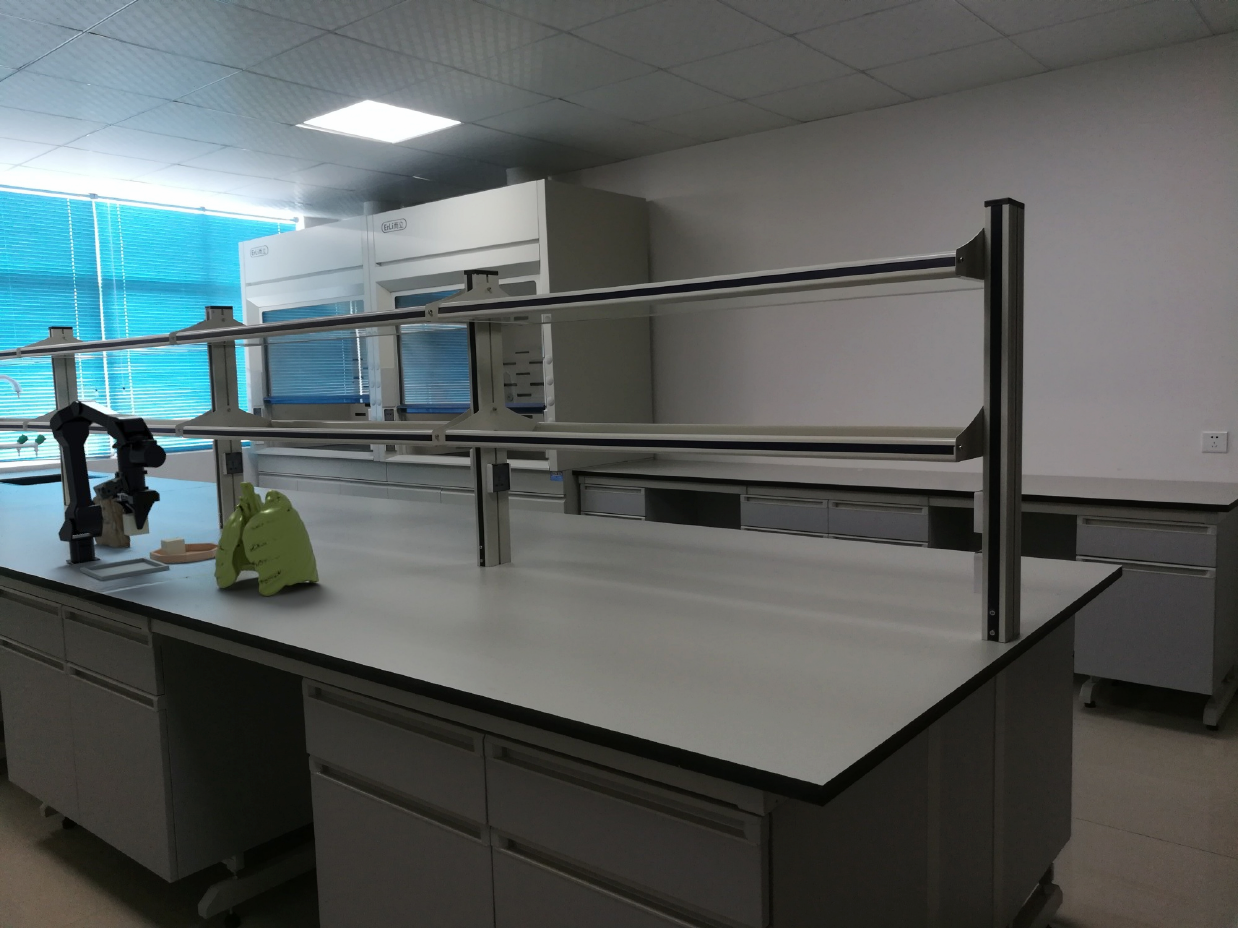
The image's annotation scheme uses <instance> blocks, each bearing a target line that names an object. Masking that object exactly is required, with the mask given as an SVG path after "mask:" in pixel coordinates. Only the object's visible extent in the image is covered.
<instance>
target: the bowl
mask: <svg viewBox="0 0 1238 928" xmlns="http://www.w3.org/2000/svg"><path fill="white" fill-rule="evenodd" d="M217 548H218V543H216V542H195V543H193V542H192V543H191V542H190V543H188V542H187V543H185V552H186V554H182V555H162V550H161V547H160V548H157V549H155V550H152V551H150V552H149V559H152V560H155V561H158V562H161V563H164V564H181V563H182V564H183V563H191V562H200V561H206V560H209V559H214V558H215V555H216V552H217Z"/></svg>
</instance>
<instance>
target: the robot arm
mask: <svg viewBox="0 0 1238 928" xmlns="http://www.w3.org/2000/svg"><path fill="white" fill-rule="evenodd" d="M93 424H96V425H98V426H100V427H102V428H105V429H106V430H107V431H106V433H107V435H109V436H110V437H111V438H112V439H113V440H115V442H114V443H113V444H112V446H111V449H114V450H116V459H117V470H116V471H115V472H114V477H112V478H111V479H109V480H106V481H104V482H101V483H99V484H97V485H95V486H93V487H92V489H93V491H94V493H95V495H97V497H98V499H102V500H105V499H108V498H109V499H115V498H117V500H116V501H114V502H115V503H117V504H118V505H120V506H121V507H122V508H123V510H124V512H125V514H131V513H133V515H134V519H135V524H136V527H137V530H141V529H143V526H144V524H145V521H146V519H147V516H148V517H149V514H150V512H151V510H152V508H153V505H154V504H155V503H156V502H161V495H160V492H158V491H157V490H155V489H150V488H149V486H148V485H146V475H148V470H147V469H145V468H148V469H149V468H150V469H151V468H152V469H156V468H161V466H163V465H164V464H165V462H166V460H167V452H166V451H165V449H164V448H163V447H162V446H161V445H159V444H158V440H157V439H155V438H154V434H153V433H152V432H151V431H150V429H149V427H148V424H147V423H146V422H145V419H144V418H143V417H141V416H140V415H136V414H126V413H119V412H117V411H115V410H113V409H111V408H108V407H107V406H105V405H102V404H100V403H98V402H97V401H96V400H95V399H94V400H93V399H76V400H74V401H72V402H71V403H70V404H69V405H68V406H65V407H63V408H61V409H59V410H58V411H56V412H55V413H54V414H53V416H51V418H50V419H49V427H50V430H51V432H52V433H51V434H52V437H53V438H54V440H55V441H56V442H57V443H58V444H59V446H60V447H62V454H63V461H64V468H65V469H64V470H65V475H66V483H67V490H68V495H69V503H68V505H67V507H66V509H65V511H64V522H63V524H62V525H61V527H60V529H59V531H58V538H59V541H61V542H66V543H68V546H69V557H70V559H66V560H65V562H66V563H68V564H70V565H78V564H83V563H91V562H96V561H101V558H100V557H96V548H95V538H94V537H101V536H102V531H103V524H104V518H103V515H102V507H101V506H100V505H96V503H95V502H94V501H93V497H92V493H91V485H90V478H89V471H88V463H87V457H86V451H85V444H86V442H87V439H88V438H89V436H90V427H91V426H92V425H93Z"/></svg>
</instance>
